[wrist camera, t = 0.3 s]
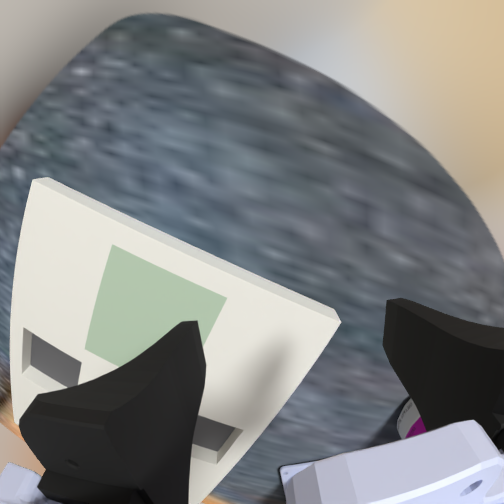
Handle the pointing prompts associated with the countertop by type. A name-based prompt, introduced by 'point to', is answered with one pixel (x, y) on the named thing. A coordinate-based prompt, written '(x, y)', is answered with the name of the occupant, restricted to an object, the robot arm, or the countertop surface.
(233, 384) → the board
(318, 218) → the countertop surface
